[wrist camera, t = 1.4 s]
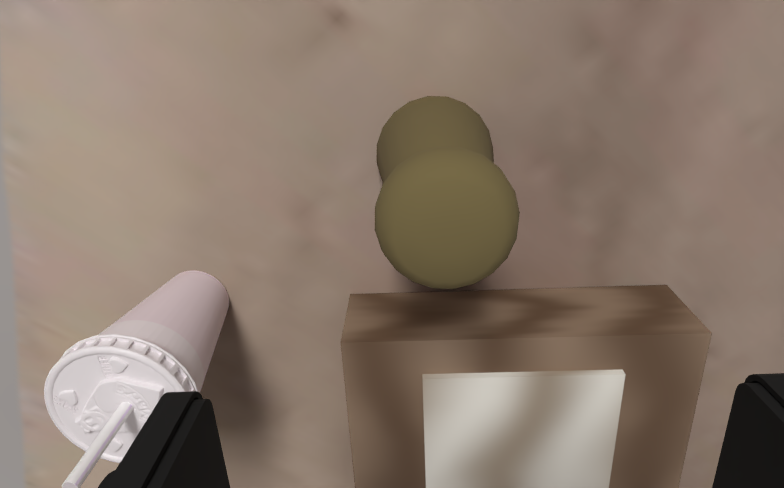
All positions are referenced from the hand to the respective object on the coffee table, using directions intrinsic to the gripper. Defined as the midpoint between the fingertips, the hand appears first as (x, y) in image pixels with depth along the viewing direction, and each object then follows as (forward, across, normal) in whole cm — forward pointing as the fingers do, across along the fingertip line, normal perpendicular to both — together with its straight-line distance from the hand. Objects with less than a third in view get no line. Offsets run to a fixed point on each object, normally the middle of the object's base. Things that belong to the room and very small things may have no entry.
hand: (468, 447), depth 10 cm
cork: (+20, -1, 0) cm, 20 cm away
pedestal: (+20, -5, +15) cm, 25 cm away
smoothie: (+21, +13, +8) cm, 26 cm away
